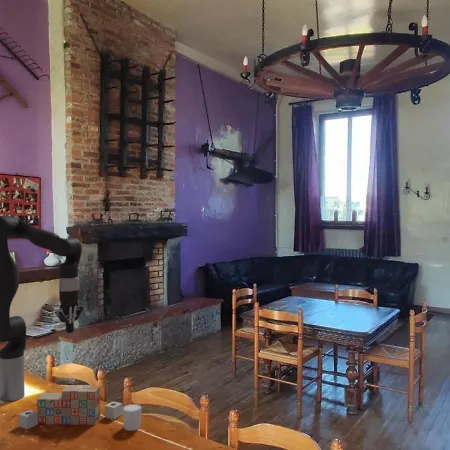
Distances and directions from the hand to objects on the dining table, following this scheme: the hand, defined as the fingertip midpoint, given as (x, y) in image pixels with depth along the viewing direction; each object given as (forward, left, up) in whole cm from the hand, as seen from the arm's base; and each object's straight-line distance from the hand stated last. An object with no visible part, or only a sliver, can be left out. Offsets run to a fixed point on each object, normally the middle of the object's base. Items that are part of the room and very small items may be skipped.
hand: (69, 332), depth 186 cm
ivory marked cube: (+22, 0, -29) cm, 36 cm away
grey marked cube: (0, -20, -29) cm, 35 cm away
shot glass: (+34, -4, -29) cm, 45 cm away
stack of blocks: (+10, -10, -29) cm, 33 cm away
